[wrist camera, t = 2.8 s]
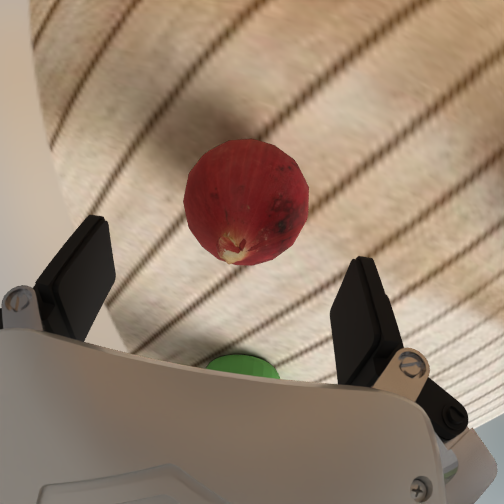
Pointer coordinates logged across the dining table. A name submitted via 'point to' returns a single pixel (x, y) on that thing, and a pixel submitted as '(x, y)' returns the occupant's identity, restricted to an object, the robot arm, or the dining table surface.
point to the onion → (246, 201)
